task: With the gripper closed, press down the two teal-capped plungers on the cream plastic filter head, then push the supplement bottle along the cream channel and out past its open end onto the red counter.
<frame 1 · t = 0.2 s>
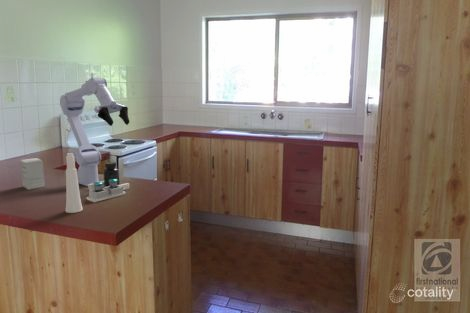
hand: (120, 123, 155), 31 cm above the countertop, tool tilted 45°, fingers open, 7 cm apart
cosmetic bottle: (74, 210, 142), on the countertop
supplement box: (33, 187, 172), on the countertop
supplement bottle: (112, 189, 171), resting in filter head
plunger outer: (98, 187, 155), point 5 cm above the countertop, slide at 0.0 cm
filter head: (108, 189, 169), on the countertop
plunger inner: (113, 183, 160), point 5 cm above the countertop, slide at 0.0 cm
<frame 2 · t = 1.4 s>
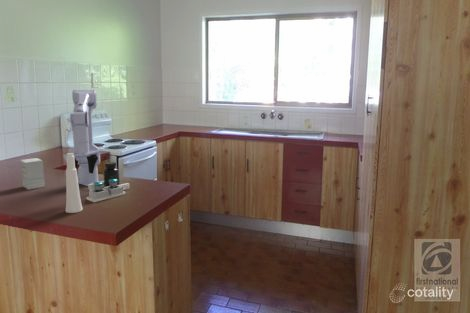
hand: (83, 174, 154), 10 cm above the countertop, tool pointing down, fingers open, 6 cm apart
nothing on the countertop moved.
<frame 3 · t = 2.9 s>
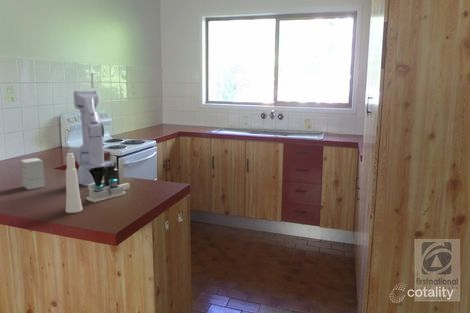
hand: (98, 185, 155), 6 cm above the countertop, tool pointing down, fingers closed, pressing on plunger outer
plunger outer: (98, 189, 155), point 4 cm above the countertop, slide at 1.1 cm, touching gripper
everything else where it was.
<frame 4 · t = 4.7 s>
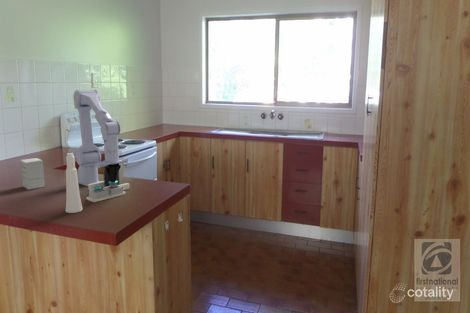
hand: (113, 181, 160), 6 cm above the countertop, tool pointing down, fingers closed, pressing on plunger inner
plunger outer: (98, 191, 156), point 3 cm above the countertop, slide at 1.8 cm
plunger inner: (113, 185, 161), point 4 cm above the countertop, slide at 0.8 cm, touching gripper
everything else where it was.
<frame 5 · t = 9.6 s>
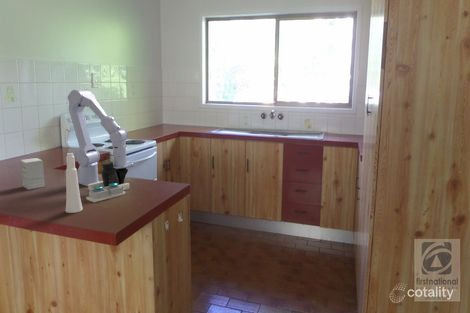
hand: (121, 184, 174), 1 cm above the countertop, tool pointing down, fingers closed
supplement bottle: (112, 188, 171), resting in filter head, touching gripper
plunger inner: (113, 187, 161), point 3 cm above the countertop, slide at 1.9 cm
everything else where it was.
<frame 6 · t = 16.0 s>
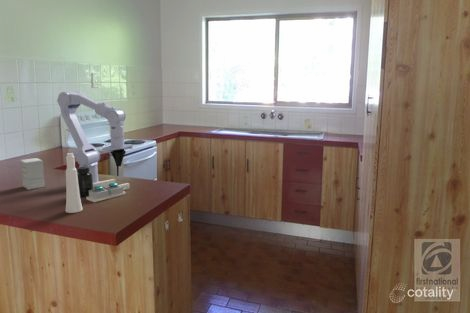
hand: (118, 165, 172), 10 cm above the countertop, tool pointing down, fingers closed
supplement bottle: (85, 195, 161), on the countertop
everything else where it was.
at the end: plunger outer slide at 1.8 cm; plunger inner slide at 1.9 cm; supplement bottle inside the target area (3.5 cm from its centre), on the countertop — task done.
